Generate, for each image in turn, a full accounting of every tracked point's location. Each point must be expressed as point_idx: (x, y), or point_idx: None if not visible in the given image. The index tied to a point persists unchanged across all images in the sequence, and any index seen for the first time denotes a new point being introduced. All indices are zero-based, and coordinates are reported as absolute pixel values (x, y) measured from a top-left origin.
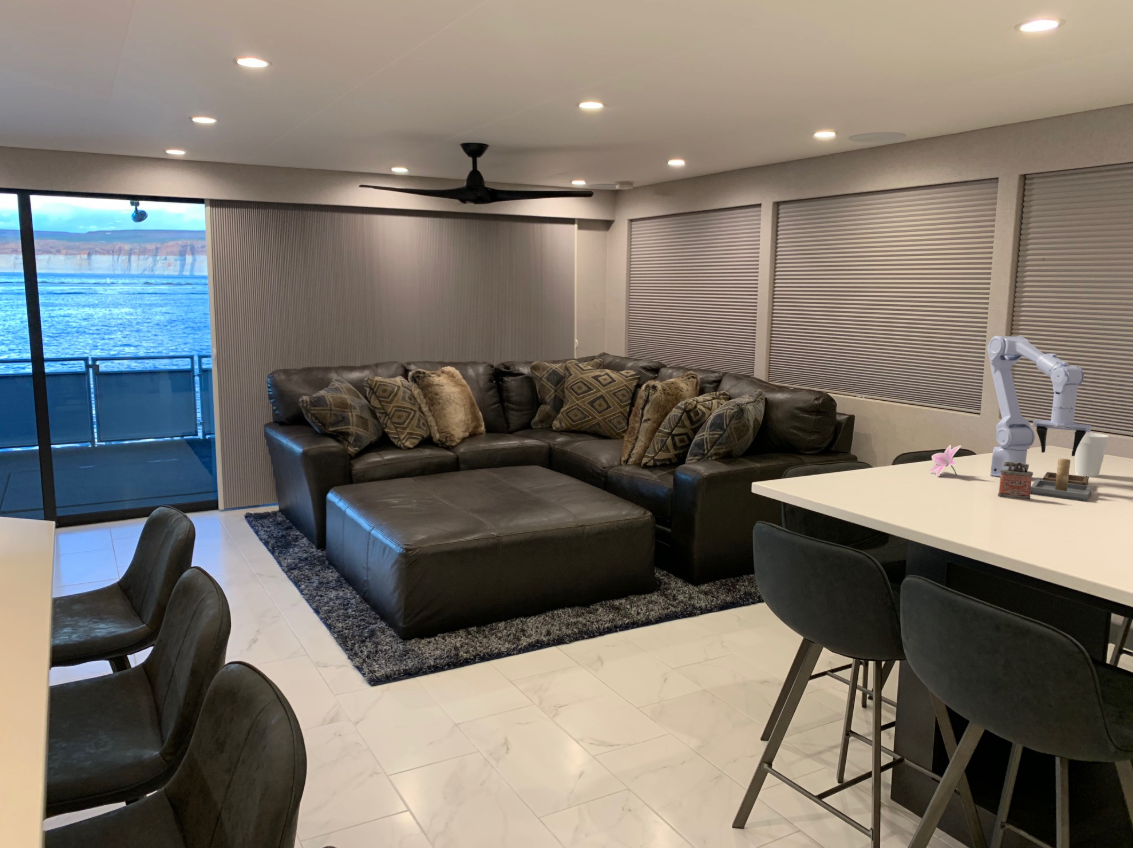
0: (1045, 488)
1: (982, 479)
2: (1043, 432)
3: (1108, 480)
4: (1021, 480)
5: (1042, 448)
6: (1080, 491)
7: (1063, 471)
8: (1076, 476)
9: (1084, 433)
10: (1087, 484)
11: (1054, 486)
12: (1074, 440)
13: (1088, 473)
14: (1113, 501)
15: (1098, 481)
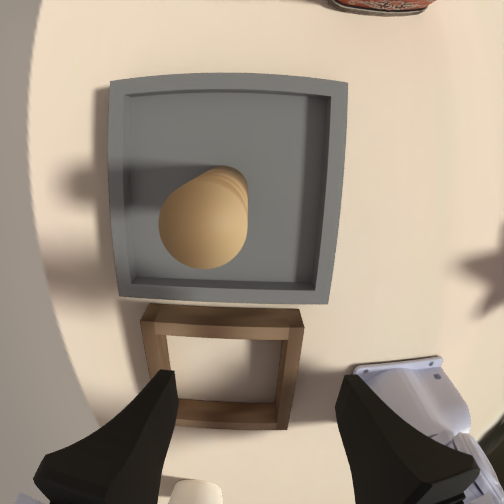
0: (285, 88)
1: (472, 283)
2: (425, 469)
3: None
4: None
5: (365, 388)
6: (151, 231)
7: (207, 173)
8: (195, 419)
9: (34, 480)
10: None
11: (254, 274)
12: (130, 445)
13: (190, 485)
14: (52, 173)
15: None
